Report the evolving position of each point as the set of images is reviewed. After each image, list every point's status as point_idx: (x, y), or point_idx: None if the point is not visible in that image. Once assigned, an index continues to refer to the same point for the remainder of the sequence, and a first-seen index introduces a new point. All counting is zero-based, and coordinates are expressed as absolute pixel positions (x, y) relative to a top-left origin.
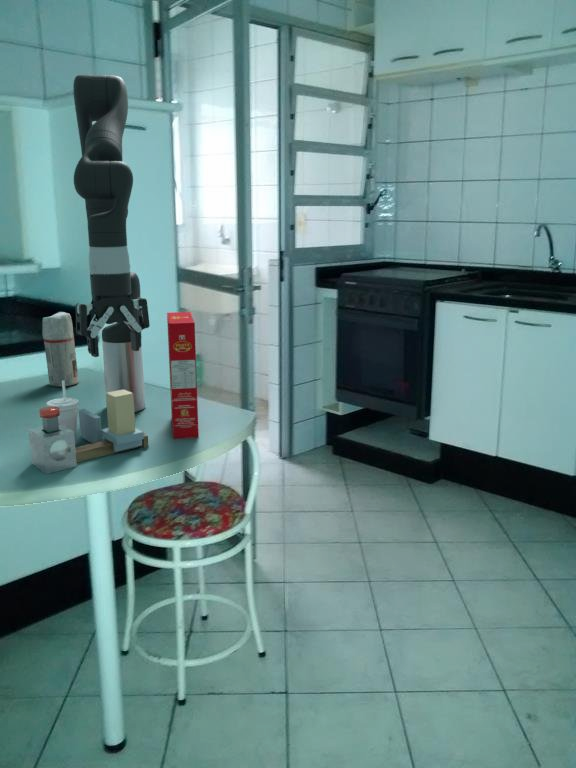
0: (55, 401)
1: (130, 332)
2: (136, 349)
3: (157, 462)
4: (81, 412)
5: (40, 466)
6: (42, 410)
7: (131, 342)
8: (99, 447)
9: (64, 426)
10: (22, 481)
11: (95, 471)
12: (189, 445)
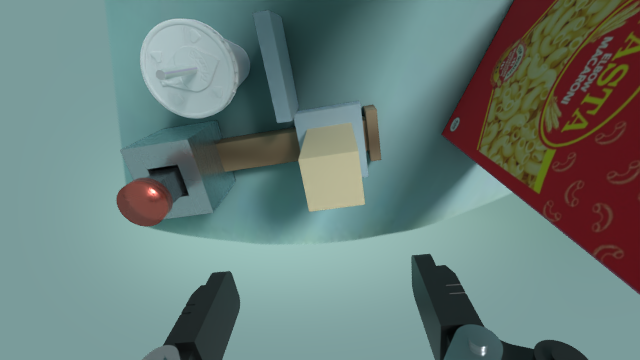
0: (167, 49)
1: (439, 323)
2: (415, 298)
3: (358, 227)
4: (258, 34)
5: None
6: (124, 207)
7: (421, 283)
8: (278, 163)
9: (197, 170)
10: None
11: (259, 214)
12: (444, 183)
